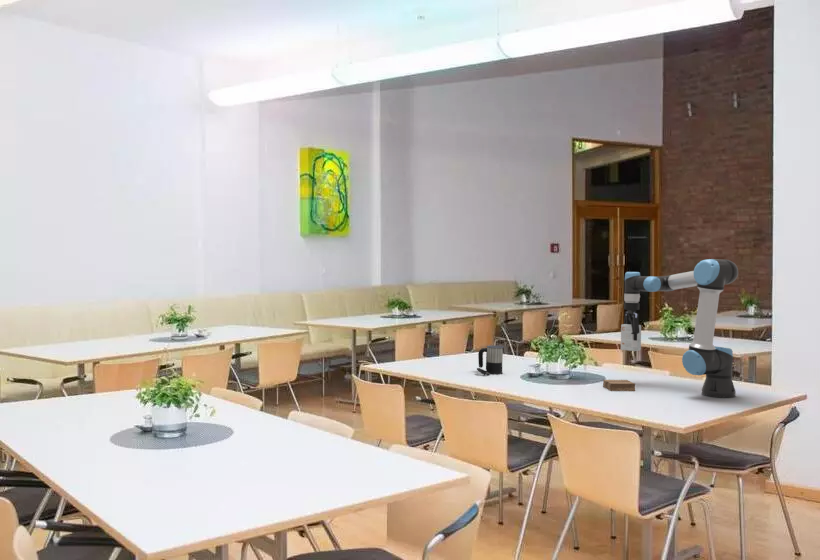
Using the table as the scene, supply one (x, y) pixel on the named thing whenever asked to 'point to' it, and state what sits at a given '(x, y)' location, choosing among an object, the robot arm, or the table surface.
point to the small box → (629, 338)
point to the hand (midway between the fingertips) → (630, 345)
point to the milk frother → (491, 360)
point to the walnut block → (619, 385)
